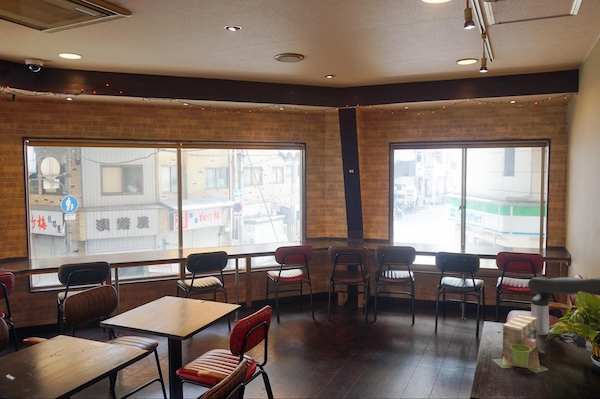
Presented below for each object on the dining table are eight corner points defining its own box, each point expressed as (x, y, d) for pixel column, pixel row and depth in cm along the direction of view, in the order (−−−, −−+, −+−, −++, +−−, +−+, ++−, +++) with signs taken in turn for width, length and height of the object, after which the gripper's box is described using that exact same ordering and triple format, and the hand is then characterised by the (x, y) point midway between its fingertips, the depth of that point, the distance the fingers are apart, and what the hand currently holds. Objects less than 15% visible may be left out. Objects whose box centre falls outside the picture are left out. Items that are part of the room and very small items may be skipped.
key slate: (521, 339, 253) (521, 331, 253) (533, 341, 249) (533, 334, 249) (519, 341, 251) (519, 333, 250) (531, 343, 246) (531, 336, 246)
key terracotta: (523, 344, 246) (523, 336, 245) (535, 347, 241) (536, 339, 241) (520, 346, 243) (521, 338, 242) (533, 349, 239) (533, 341, 238)
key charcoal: (526, 335, 259) (526, 328, 259) (538, 338, 255) (538, 330, 254) (523, 337, 256) (524, 330, 256) (535, 339, 252) (535, 332, 252)
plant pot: (534, 368, 230) (534, 351, 229) (514, 368, 230) (515, 351, 230) (525, 361, 239) (525, 344, 239) (506, 361, 239) (507, 344, 239)
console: (519, 342, 264) (519, 314, 264) (536, 346, 258) (537, 317, 257) (502, 355, 246) (503, 325, 245) (520, 360, 240) (521, 328, 239)
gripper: (592, 331, 241) (555, 323, 253) (585, 338, 231) (547, 330, 243) (591, 345, 241) (554, 337, 253) (585, 353, 232) (546, 344, 244)
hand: (551, 333), depth 248 cm, fingers closed
